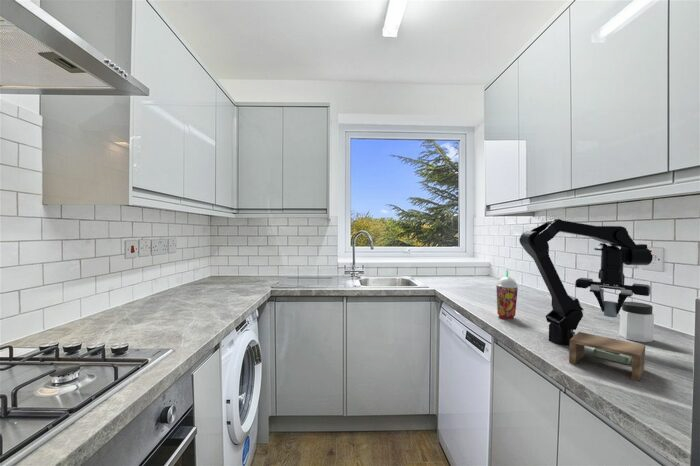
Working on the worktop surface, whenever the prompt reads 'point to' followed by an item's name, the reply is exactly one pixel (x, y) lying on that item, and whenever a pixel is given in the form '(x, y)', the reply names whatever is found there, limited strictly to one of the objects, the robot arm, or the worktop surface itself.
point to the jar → (636, 322)
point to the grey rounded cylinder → (610, 308)
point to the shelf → (610, 345)
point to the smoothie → (506, 297)
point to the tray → (611, 356)
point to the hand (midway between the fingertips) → (610, 312)
